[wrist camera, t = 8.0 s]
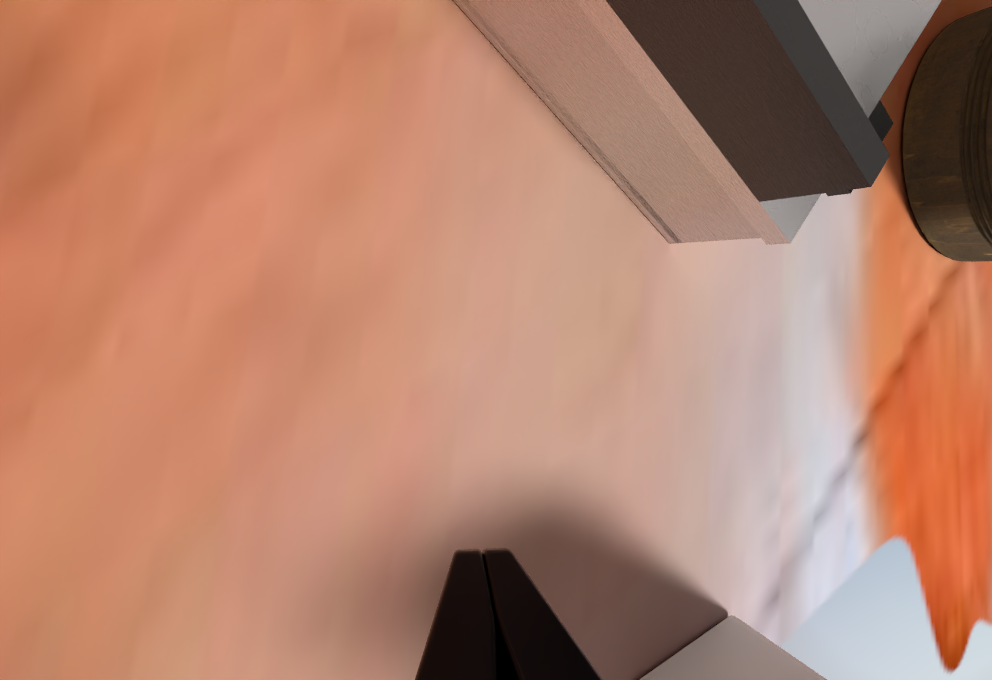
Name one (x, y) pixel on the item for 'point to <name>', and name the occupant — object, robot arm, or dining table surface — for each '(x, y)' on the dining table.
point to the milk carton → (732, 658)
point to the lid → (769, 89)
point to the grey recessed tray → (616, 116)
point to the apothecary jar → (953, 140)
